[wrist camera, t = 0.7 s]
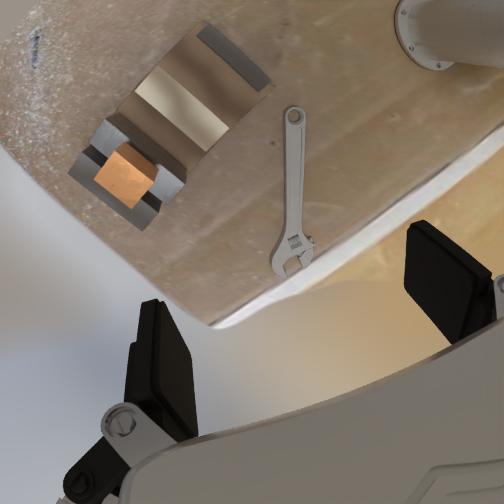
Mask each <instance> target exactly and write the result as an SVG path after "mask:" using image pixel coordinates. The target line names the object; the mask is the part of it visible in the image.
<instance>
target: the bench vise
mask: <svg viewBox="0 0 504 504" xmlns="http://www.w3.org/2000/svg"><path fill="white" fill-rule="evenodd" d="M273 88H275V85H274V84H273V83H272V82H271V80H270V79H269V78H268V77H267V76H266V75H265V74H264V73H263V72H262V71H261V70H260V69H259V68H258V67H257V66H256V65H255V64H254V63H253V62H252V61H251V60H250V59H249V58H248V57H247V56H246V55H244V54H243V53H242V52H241V51H240V50H239V49H238V48H237V47H236V46H235V45H234V44H232V43H231V42H230V41H229V40H228V39H227V38H226V37H225V36H224V35H222V34H221V33H220V32H219V31H218V30H217V29H216V28H214V27H213V26H212V25H211V24H210V23H209V24H208V23H207V22H205V21H204V20H202V21H201V22H200V23H198V24H197V25H196V26H195V27H194V28H193V29H192V30H191V31H190V32H189V33H188V34H187V35H186V36H184V37H183V38H182V39H181V40H180V41H179V42H178V43H177V44H176V45H175V46H174V47H173V48H172V49H171V50H170V51H169V52H168V53H167V54H166V55H165V56H164V57H163V58H162V59H161V60H160V61H159V62H158V63H157V65H156V66H155V67H154V68H153V69H152V70H151V71H150V72H149V73H148V74H147V75H146V76H145V78H144V79H143V80H142V81H141V82H140V83H139V84H138V85H137V87H136V88H135V89H134V90H133V91H132V92H131V94H130V95H129V96H128V97H127V98H126V99H125V101H124V102H123V103H122V104H121V105H120V107H119V108H118V109H117V110H116V112H115V113H114V114H113V115H115V114H117V113H121V114H122V115H123V116H124V117H125V118H127V119H128V120H129V121H130V122H131V123H133V124H134V125H135V126H136V127H138V128H139V129H140V130H141V131H142V132H144V133H145V134H146V135H147V136H148V137H150V138H151V139H152V140H153V141H154V142H156V143H157V144H158V145H159V146H160V147H162V148H163V149H164V150H165V151H166V152H168V153H169V154H170V155H171V156H172V157H174V158H175V159H176V160H177V161H178V162H180V163H181V164H182V165H183V166H184V167H185V168H187V174H188V173H189V171H190V170H191V169H192V168H193V167H194V166H195V165H196V164H197V163H198V162H199V161H200V160H201V159H202V158H203V157H204V156H205V155H206V154H207V152H208V151H209V150H210V149H211V148H212V147H213V146H214V145H215V144H216V143H217V142H218V141H219V140H220V139H221V138H222V137H223V136H224V135H225V134H226V133H227V132H228V131H229V130H230V129H231V128H232V127H233V126H234V125H235V124H236V123H237V122H238V121H239V120H240V119H241V118H242V117H244V116H245V115H246V114H247V113H248V112H249V111H250V110H251V109H252V108H253V107H254V106H255V105H256V104H257V103H258V102H259V101H260V100H261V99H263V98H264V97H265V96H266V95H267V94H268V93H269V92H270V91H271V90H272V89H273ZM108 159H109V158H107V157H106V156H105V155H104V154H102V153H101V152H100V151H99V150H97V149H96V148H95V147H94V146H93V145H90V146H89V147H88V148H87V149H85V150H84V151H82V152H81V154H80V155H79V157H78V158H77V160H76V161H75V163H74V164H73V166H72V167H71V169H70V170H69V172H68V174H69V175H70V176H71V177H73V178H74V179H75V180H76V181H78V182H79V183H80V184H81V185H83V186H84V187H85V188H86V189H88V190H89V191H90V192H91V193H93V194H94V195H95V196H97V197H98V198H99V199H100V200H102V201H103V202H104V203H106V204H107V205H108V206H109V207H111V208H112V209H113V210H115V211H116V212H117V213H119V214H120V215H121V216H122V217H124V218H125V219H126V220H128V221H129V222H130V223H132V224H133V225H134V226H136V227H137V228H138V229H140V230H141V231H142V232H143V230H144V229H145V228H146V227H147V226H148V225H149V223H150V222H151V221H152V220H153V219H154V218H155V217H156V215H157V214H158V213H159V210H160V206H161V202H162V201H161V200H160V199H159V198H157V197H156V196H155V195H153V194H152V193H151V192H150V191H148V190H147V191H146V192H145V194H144V195H143V196H142V197H141V198H140V200H139V201H138V202H137V203H136V205H135V206H134V207H133V208H132V209H131V208H129V207H128V206H127V205H125V204H124V203H123V202H122V201H120V200H119V199H118V198H116V197H115V196H114V195H113V194H111V193H110V192H109V191H108V190H106V189H105V188H104V187H103V186H101V185H100V184H99V183H97V182H96V181H95V180H94V178H95V177H96V175H97V174H98V172H99V171H100V170H101V168H102V167H103V166H104V164H105V163H106V162H107V160H108ZM187 174H186V175H187Z"/></svg>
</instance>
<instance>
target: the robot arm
mask: <svg viewBox="0 0 504 504" xmlns="http://www.w3.org/2000/svg"><path fill="white" fill-rule="evenodd" d="M395 28H396V33H397V36H398V39H399V41H400V43H401V46H402V47H403V49H404V50H405V52H406V53H407V54H408V56H409V57H410V58H411V59H412V60H413V61H414V62H416V63H417V64H418V65H420V66H422V67H424V68H426V69H429V70H438V71H440V70H445V69H447V68H449V67H451V66H452V65H453V64H454V63H455V62H457V63H466V64H474V65H481V66H488V67H494V68H500V69H504V0H401V2H400V3H399V5H398V7H397V9H396V13H395ZM491 276H492V273H491V272H490V271H489V270H488V269H487V268H486V267H484V266H483V265H482V264H481V263H479V262H478V261H477V260H476V259H475V258H474V257H472V256H471V255H470V254H469V253H467V252H466V251H465V250H464V249H462V248H461V247H460V246H459V245H457V244H456V243H455V242H453V241H452V240H451V239H450V238H448V237H447V236H446V235H444V234H443V233H442V232H440V231H439V230H438V229H436V228H435V227H434V226H432V225H431V224H430V223H428V222H427V221H425V220H420V221H417V222H414V223H412V224H410V227H409V228H408V229H407V240H406V259H405V274H404V287H405V290H406V291H407V293H408V294H409V295H410V296H411V297H412V298H413V300H414V301H415V302H416V303H417V304H418V305H419V306H420V308H421V309H422V310H423V311H424V312H425V313H426V314H427V316H428V317H429V318H430V319H431V320H432V322H433V323H434V324H435V325H436V326H437V327H438V329H439V330H440V331H441V332H442V333H443V335H444V336H445V337H446V338H447V340H448V341H449V342H450V343H451V344H452V345H451V346H449V347H447V348H445V349H443V350H441V351H440V352H438V353H436V354H434V355H432V356H430V357H428V358H426V359H423V360H421V361H419V362H417V363H415V364H413V365H411V366H409V367H407V368H405V369H402V370H400V371H398V372H396V373H393V374H391V375H389V376H387V377H384V378H382V379H380V380H377V381H375V382H372V383H370V384H367V385H366V386H363V387H360V388H358V389H355V390H353V391H350V392H347V393H344V394H342V395H339V396H336V397H334V398H331V399H328V400H325V401H322V402H320V403H317V404H314V405H311V406H308V407H305V408H302V409H298V410H296V411H292V412H289V413H286V414H282V415H279V416H276V417H272V418H268V419H265V420H261V421H258V422H255V423H251V424H247V425H243V426H239V427H236V428H232V429H227V430H223V431H219V432H215V433H211V434H208V435H204V436H200V437H198V424H197V414H196V404H195V393H194V381H193V368H192V358H191V354H190V352H189V350H188V347H187V346H186V344H185V342H184V340H183V338H182V336H181V334H180V332H179V330H178V328H177V326H176V324H175V322H174V320H173V318H172V316H171V314H170V312H169V310H168V308H167V306H166V304H165V302H164V301H161V302H159V300H158V299H153V300H149V301H146V302H142V304H141V309H140V317H139V325H138V333H137V340H136V342H133V343H131V345H130V349H129V357H128V365H127V375H126V383H125V394H124V403H119V404H117V405H114V406H113V407H111V408H110V409H109V410H108V411H107V412H106V413H105V415H104V416H103V418H102V421H101V432H102V434H103V435H104V436H103V437H102V438H101V439H100V440H99V441H98V442H97V443H96V444H95V445H94V446H93V447H92V448H91V449H90V450H89V451H88V452H87V453H86V454H85V455H84V456H83V457H82V458H81V459H80V460H79V461H78V462H77V463H76V464H75V465H74V466H73V467H72V468H71V469H70V470H69V471H68V472H67V474H66V475H65V477H64V480H63V489H64V493H65V496H64V498H63V499H61V498H59V499H58V501H57V503H56V504H504V274H502V275H499V276H498V277H496V278H495V280H494V281H493V280H492V279H491ZM194 437H196V438H194Z"/></svg>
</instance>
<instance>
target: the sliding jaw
mask: <svg viewBox="0 0 504 504" xmlns="http://www.w3.org/2000/svg"><path fill="white" fill-rule="evenodd" d="M88 142H89V143H90V144H91V145H93V146H94V147H95V148H96V149H97V150H99V151H100V152H101V153H102V154H104V155H105V156H106V157H107V158H109V159H108V160H107V162H106V163H105V164H104V166H103V167H102V168H101V170H100V171H99V172H98V174H97V175H96V177H95V178H94V180H95V181H96V182H97V183H99V184H100V185H101V186H103V187H104V188H105V189H106V190H108V191H109V192H110V193H111V194H113V195H114V196H115V197H116V198H118V199H119V200H120V201H122V202H123V203H124V204H125V205H127V206H128V207H129V208H131V209H132V208H133V207H134V206H135V205H136V203H137V202H138V201H139V200H140V198H141V197H142V196H143V195H144V194H145V192H146V191H147V190H148V191H150V192H151V193H152V194H153V195H155V196H156V197H157V198H159V199H160V200H161V201H162V202H164V203H165V204H166V205H167V204H168V203H169V202H170V201H171V200H172V199H173V197H174V196H175V195H176V194H177V193H178V192H179V191H180V190H181V189H182V188H183V186H184V185H185V182H186V174H187V168H185V167H184V166H183V165H182V164H181V163H180V162H178V161H177V160H176V159H175V158H174V157H172V156H171V155H170V154H169V153H168V152H166V151H165V150H164V149H163V148H162V147H160V146H159V145H158V144H157V143H156V142H154V141H153V140H152V139H151V138H150V137H148V136H147V135H146V134H145V133H144V132H142V131H141V130H140V129H139V128H138V127H136V126H135V125H134V124H133V123H131V122H130V121H129V120H128V119H127V118H125V117H124V116H123V115H122V114H121V113H117V114H115V115H112V116H110V117H108V118H106V119H105V120H104V121H103V122H102V124H101V125H100V126H99V128H98V129H97V130H96V132H95V133H94V134H93V136H92V137H91V138H90V140H89V141H88Z"/></svg>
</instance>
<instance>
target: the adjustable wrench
mask: <svg viewBox="0 0 504 504" xmlns="http://www.w3.org/2000/svg"><path fill="white" fill-rule="evenodd" d="M292 110H296V111H298V112H299V113H300V119H299V121H297V122H291V121H290V120H289V119H288V114H289V112H290V111H292ZM305 121H306V116H305V113H304V111H303V110H302V109H301V108H299V107H295V106H292V107H289V108H287V109H286V110H285V112H284V175H285V222H284V228H283V231H282V233H281V236H280V238H279V240H278V242H277V244H276V246H275V247H274V249H273V251H272V253H271V256H270V262H271V265H272V268H273V270H274V272H275V273H276V274H278V275H279V276H281V277H284V278H286V277H287V275H286V272H285V270H284V268H283V264H284V263H285V262H286V261H287V259H288V258H290V257H293V256H295V255H298V258H299V260H300V262H301V265H302V267H303V268H304V269H306V268H307V267H308V266H309V264H310V262H311V259H312V255H313V247H314V246H315V244H314V243H313V240H312V238H311V237H309V238H307V237H305V235H304V234H303V232H302V228H301V217H302V199H303V178H304V154H305ZM290 237H291V238H290Z"/></svg>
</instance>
